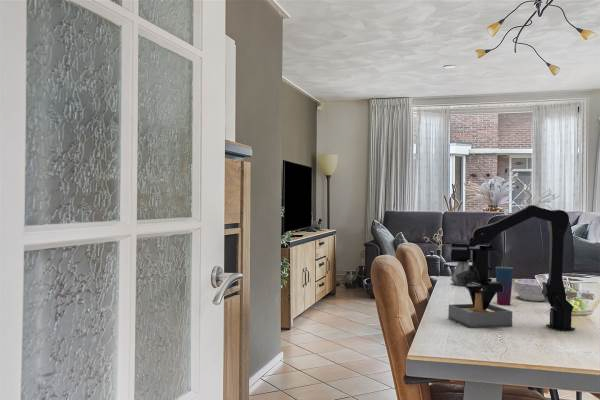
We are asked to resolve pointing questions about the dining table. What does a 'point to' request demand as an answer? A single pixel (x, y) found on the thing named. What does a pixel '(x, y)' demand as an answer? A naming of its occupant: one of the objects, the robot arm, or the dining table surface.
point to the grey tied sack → (460, 271)
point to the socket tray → (480, 316)
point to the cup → (504, 284)
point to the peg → (478, 303)
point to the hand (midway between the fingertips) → (479, 308)
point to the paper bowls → (528, 289)
